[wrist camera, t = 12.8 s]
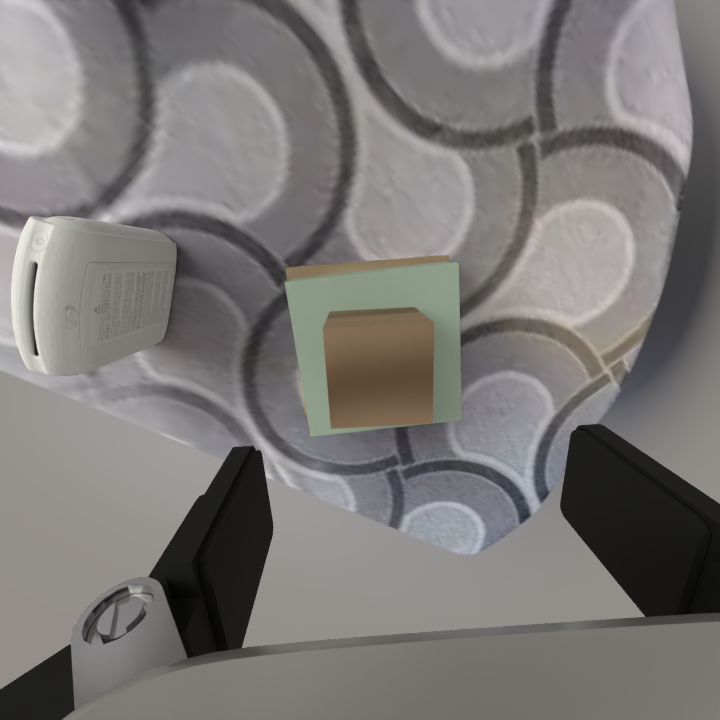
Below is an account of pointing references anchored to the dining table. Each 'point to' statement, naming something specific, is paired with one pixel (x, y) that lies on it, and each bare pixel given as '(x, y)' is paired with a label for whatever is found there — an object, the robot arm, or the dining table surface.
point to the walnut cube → (379, 367)
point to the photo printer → (89, 292)
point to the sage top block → (378, 291)
